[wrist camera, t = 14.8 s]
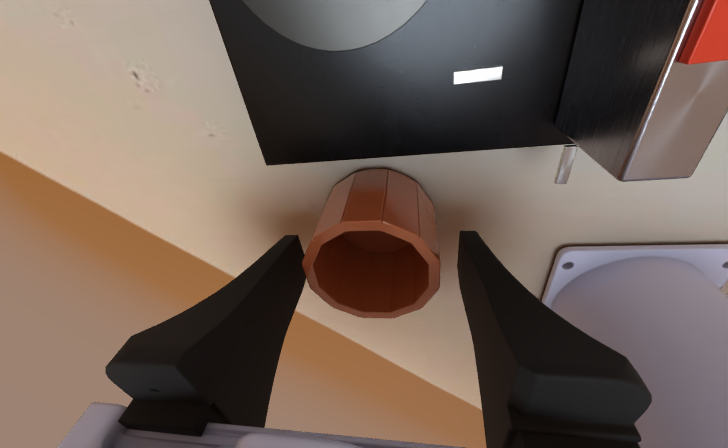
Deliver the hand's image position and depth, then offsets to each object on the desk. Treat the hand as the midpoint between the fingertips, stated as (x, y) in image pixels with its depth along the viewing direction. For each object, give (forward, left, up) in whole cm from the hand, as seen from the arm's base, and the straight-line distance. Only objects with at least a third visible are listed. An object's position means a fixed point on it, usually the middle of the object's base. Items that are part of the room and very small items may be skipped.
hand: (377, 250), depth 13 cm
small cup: (0, 0, -3) cm, 3 cm away
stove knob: (+7, -7, 0) cm, 10 cm away
